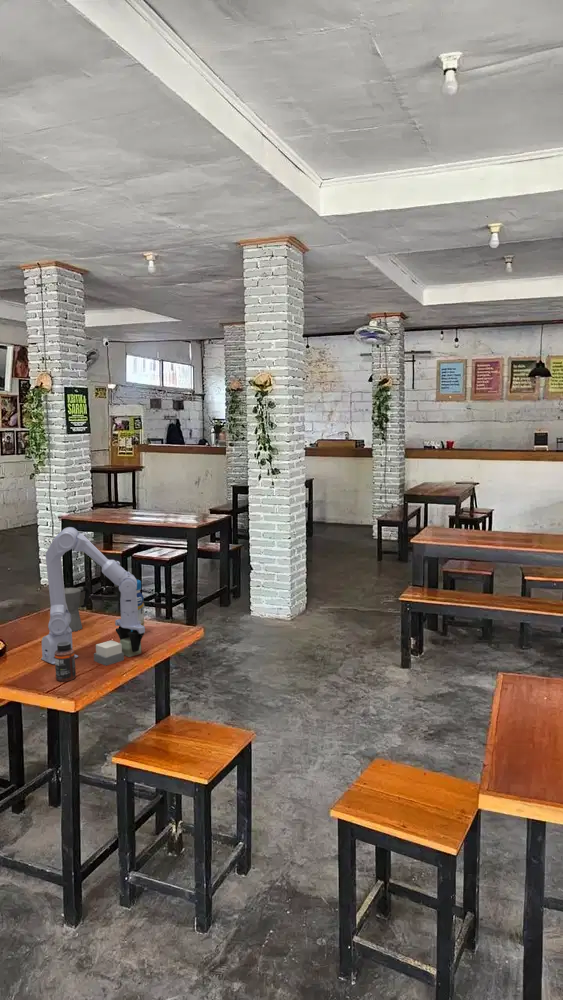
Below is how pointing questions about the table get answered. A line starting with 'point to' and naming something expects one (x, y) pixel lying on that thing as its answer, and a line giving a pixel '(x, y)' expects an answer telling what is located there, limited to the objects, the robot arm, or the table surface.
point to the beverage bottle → (140, 604)
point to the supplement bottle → (65, 662)
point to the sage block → (128, 647)
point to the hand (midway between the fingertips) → (130, 649)
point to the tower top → (108, 648)
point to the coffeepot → (75, 604)
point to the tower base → (108, 658)
